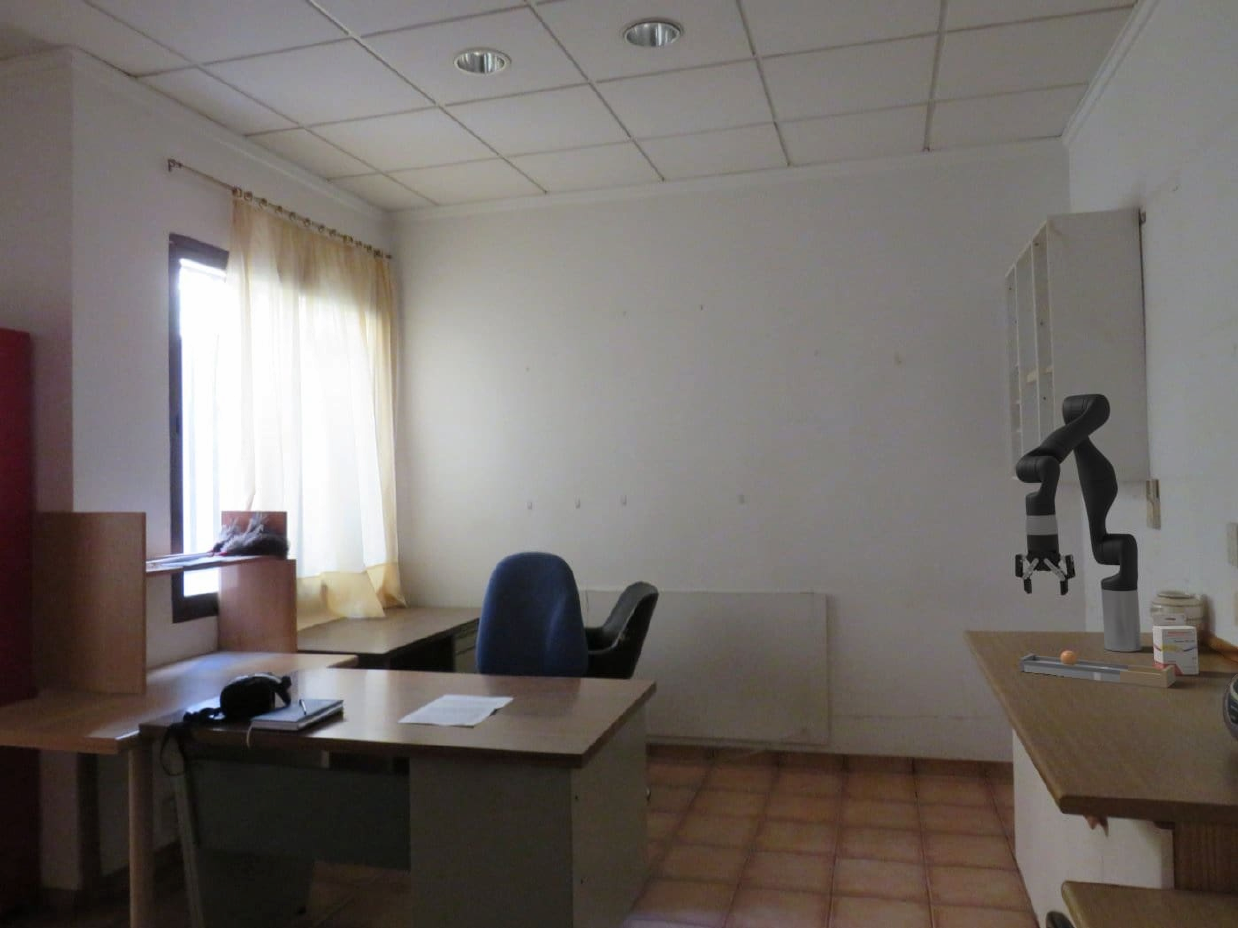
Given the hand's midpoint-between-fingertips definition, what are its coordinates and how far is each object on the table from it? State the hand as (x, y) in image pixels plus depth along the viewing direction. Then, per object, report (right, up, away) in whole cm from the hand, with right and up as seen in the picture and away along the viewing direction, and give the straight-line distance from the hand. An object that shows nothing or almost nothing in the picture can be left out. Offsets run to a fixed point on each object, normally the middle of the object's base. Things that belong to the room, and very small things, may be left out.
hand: (1046, 594), depth 235 cm
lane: (+10, -20, -7) cm, 23 cm away
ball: (+5, -16, -2) cm, 17 cm away
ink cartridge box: (+30, -19, -7) cm, 36 cm away
